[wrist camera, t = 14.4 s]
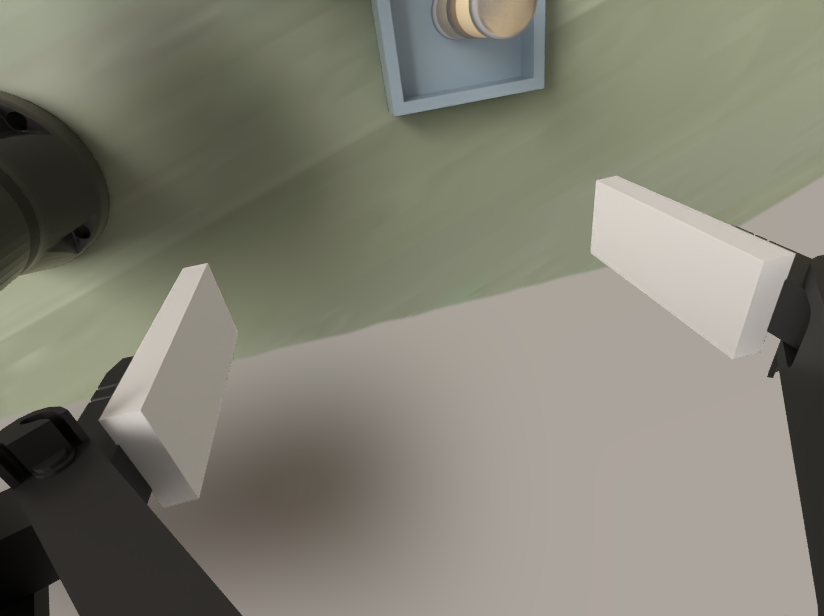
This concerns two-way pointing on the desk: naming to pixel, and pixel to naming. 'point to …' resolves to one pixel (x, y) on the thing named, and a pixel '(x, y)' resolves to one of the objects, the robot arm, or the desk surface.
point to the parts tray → (451, 59)
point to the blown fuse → (481, 18)
